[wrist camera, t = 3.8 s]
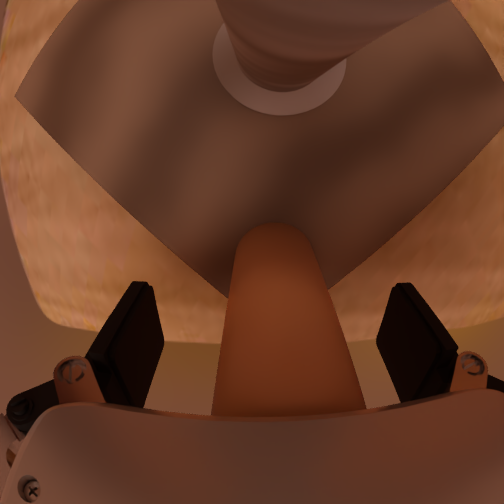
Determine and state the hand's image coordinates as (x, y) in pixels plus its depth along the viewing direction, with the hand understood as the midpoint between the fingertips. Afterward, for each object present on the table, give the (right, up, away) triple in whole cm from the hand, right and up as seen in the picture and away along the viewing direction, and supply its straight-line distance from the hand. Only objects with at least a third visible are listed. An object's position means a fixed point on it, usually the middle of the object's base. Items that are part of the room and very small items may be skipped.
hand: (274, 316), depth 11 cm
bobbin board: (0, +12, +1) cm, 13 cm away
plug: (0, +2, +4) cm, 5 cm away
